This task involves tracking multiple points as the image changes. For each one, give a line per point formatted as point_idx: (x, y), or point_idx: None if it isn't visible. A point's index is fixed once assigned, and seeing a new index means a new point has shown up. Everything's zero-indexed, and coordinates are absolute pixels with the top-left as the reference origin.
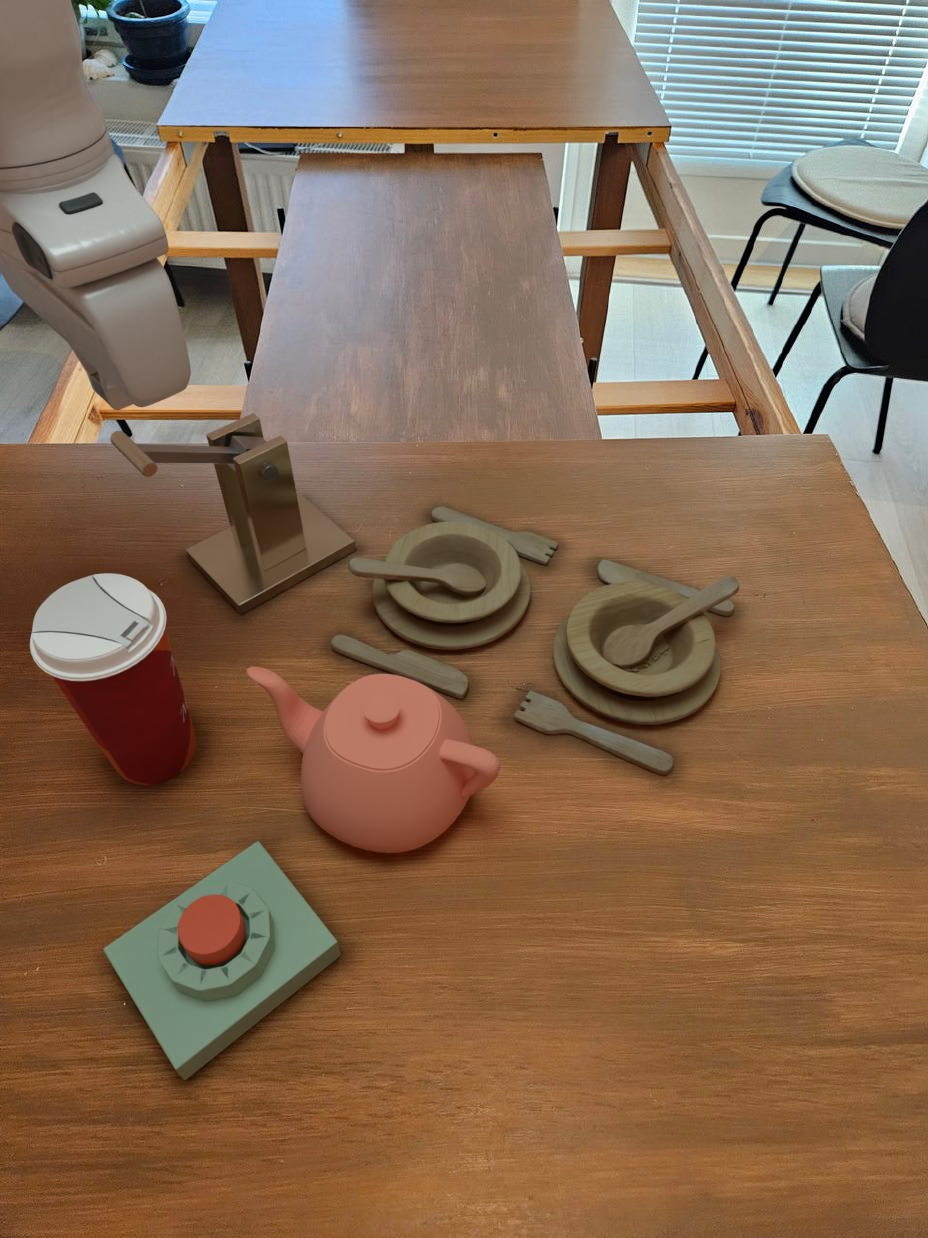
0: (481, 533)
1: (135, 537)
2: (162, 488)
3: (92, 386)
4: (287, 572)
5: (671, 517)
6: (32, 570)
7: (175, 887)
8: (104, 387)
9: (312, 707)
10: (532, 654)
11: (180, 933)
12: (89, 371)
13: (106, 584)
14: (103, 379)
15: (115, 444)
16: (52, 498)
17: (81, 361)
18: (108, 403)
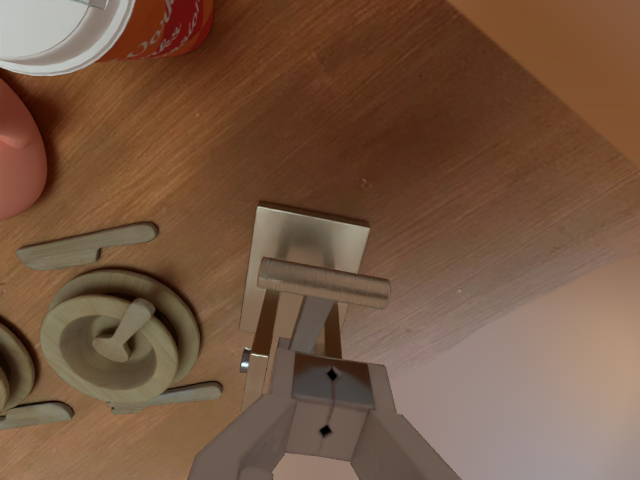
0: (127, 396)
1: (445, 210)
2: (476, 276)
3: (380, 375)
4: (255, 266)
5: (80, 471)
6: (515, 101)
7: None
8: (267, 399)
9: (9, 139)
10: (28, 317)
11: None
12: (374, 420)
13: (39, 4)
14: (218, 434)
15: (367, 280)
16: (584, 195)
17: (401, 444)
18: (294, 355)
